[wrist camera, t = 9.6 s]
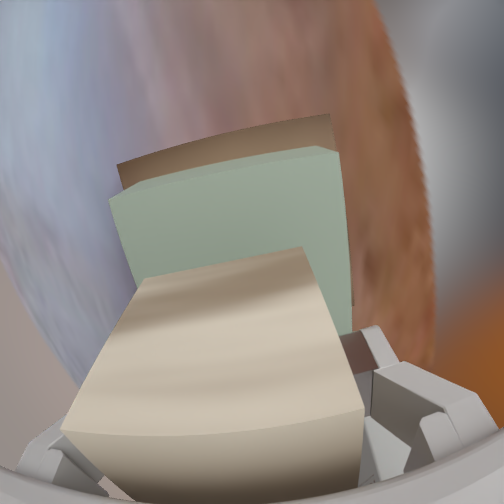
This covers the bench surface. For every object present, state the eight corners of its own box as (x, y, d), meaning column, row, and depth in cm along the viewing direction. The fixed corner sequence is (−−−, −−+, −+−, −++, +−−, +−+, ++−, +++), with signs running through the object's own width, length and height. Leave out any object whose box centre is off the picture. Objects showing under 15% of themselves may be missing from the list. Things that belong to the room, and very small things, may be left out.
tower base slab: (141, 156, 18) (116, 164, 15) (313, 116, 18) (329, 113, 14) (188, 305, 23) (178, 338, 19) (338, 275, 22) (354, 305, 18)
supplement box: (341, 354, 24) (384, 489, 12) (410, 361, 25) (467, 470, 13) (309, 410, 27) (329, 528, 15) (374, 413, 27) (408, 515, 16)
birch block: (143, 278, 10) (59, 429, 4) (301, 246, 9) (364, 407, 4) (192, 388, 11) (169, 525, 6) (320, 367, 11) (353, 511, 5)
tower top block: (139, 181, 15) (108, 199, 11) (316, 145, 14) (338, 152, 11) (185, 327, 18) (172, 372, 15) (334, 303, 18) (352, 345, 14)
